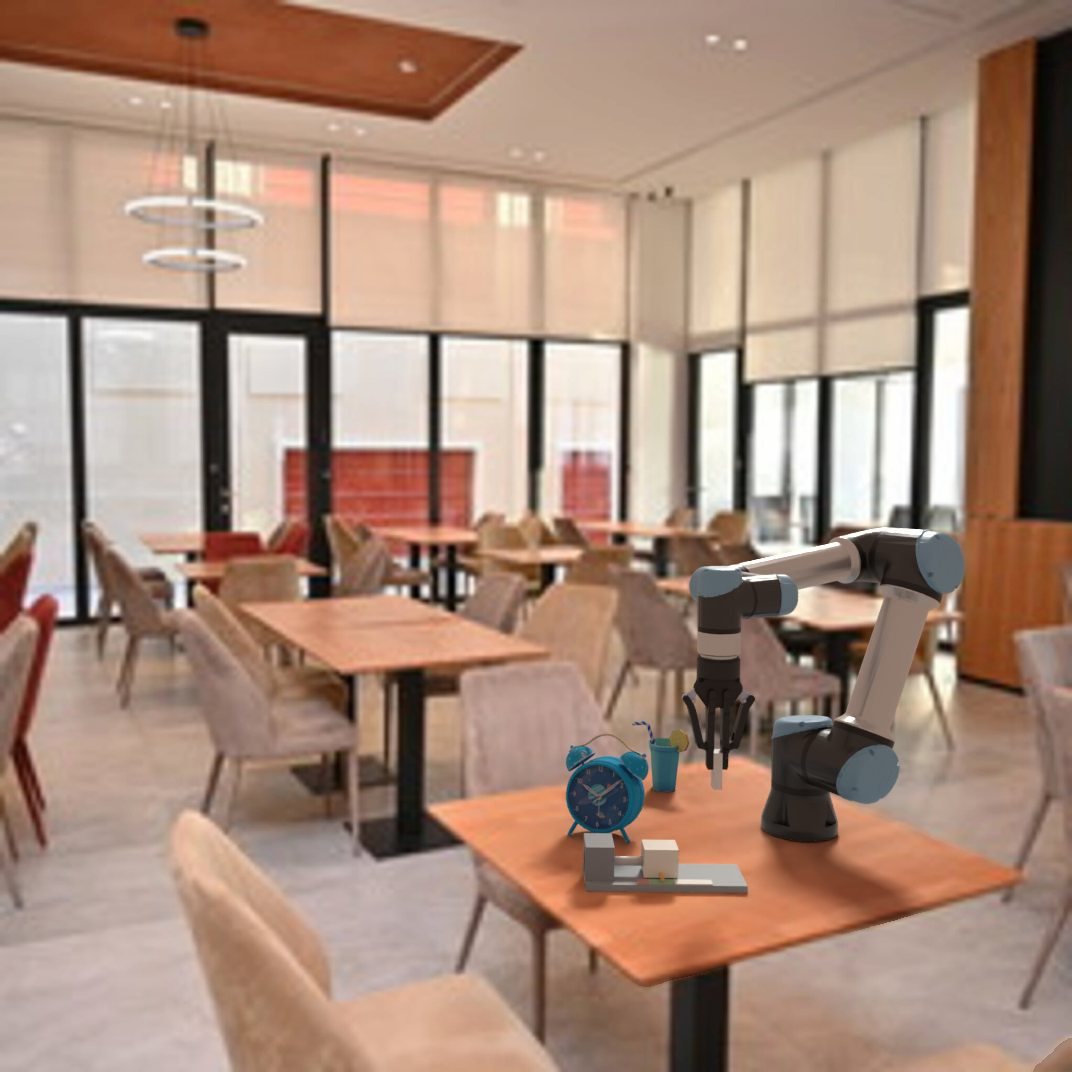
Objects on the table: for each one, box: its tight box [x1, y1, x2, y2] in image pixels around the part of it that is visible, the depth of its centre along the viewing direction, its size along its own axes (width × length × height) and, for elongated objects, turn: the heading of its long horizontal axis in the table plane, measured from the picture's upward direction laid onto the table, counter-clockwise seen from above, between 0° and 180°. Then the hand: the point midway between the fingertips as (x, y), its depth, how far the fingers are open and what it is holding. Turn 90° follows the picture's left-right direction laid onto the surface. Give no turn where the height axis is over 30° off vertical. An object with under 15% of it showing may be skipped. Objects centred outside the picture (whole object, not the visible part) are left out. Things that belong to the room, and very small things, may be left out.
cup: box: [631, 720, 690, 793], centre depth 241 cm, size 14×8×15 cm, turn 65°
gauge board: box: [582, 832, 749, 894], centre depth 189 cm, size 28×10×7 cm, turn 90°
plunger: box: [614, 839, 680, 881], centre depth 187 cm, size 14×7×5 cm, turn 90°
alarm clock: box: [565, 732, 650, 845], centre depth 210 cm, size 17×10×20 cm, turn 70°
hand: (716, 787), depth 188 cm, fingers closed
